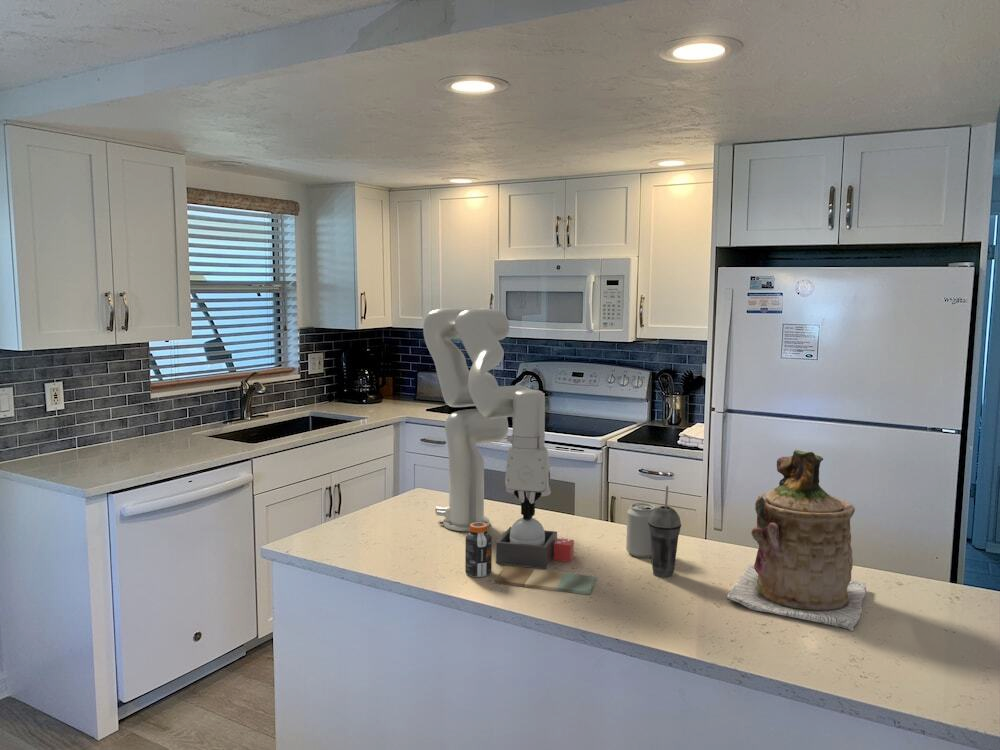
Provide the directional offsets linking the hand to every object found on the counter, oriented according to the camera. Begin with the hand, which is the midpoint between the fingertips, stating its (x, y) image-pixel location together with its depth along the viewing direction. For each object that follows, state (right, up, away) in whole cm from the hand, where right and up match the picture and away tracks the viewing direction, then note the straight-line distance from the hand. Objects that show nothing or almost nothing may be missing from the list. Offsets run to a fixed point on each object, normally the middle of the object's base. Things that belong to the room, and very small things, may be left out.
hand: (527, 517), depth 175 cm
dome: (0, -8, +1) cm, 8 cm away
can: (+28, -10, +4) cm, 30 cm away
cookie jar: (+56, -13, -21) cm, 61 cm away
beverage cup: (+30, -11, -9) cm, 33 cm away
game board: (+3, -11, -13) cm, 18 cm away
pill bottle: (-12, -11, -9) cm, 18 cm away
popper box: (+2, -10, +1) cm, 10 cm away
